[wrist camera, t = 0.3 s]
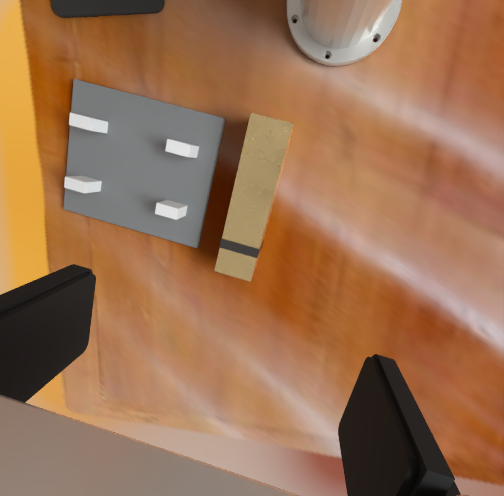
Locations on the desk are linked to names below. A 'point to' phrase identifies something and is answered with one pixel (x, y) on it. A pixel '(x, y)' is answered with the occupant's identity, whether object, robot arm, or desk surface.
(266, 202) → the tan long bar
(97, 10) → the phone
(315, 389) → the desk surface
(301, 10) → the robot arm
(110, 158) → the peg plate
